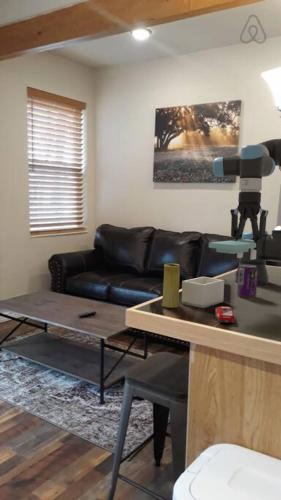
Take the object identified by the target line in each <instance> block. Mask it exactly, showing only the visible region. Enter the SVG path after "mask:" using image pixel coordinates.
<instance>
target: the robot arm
mask: <svg viewBox="0 0 281 500" xmlns="http://www.w3.org/2000/svg"><path fill="white" fill-rule="evenodd" d="M277 166H278V170H279V171H280V172H281V138H273V139H269V140H265V141H262V142H259V143H257V144H247V145H244V146H242V147H241V149H240V152H238V153H235V154H232V155H229V156H218V157H216V158H215V159H214V160H213V162H212V172H213V174H214V176H216V177H218V178H219V177H220V178H227V177H232V178H233V177H235V178H236V177H239V178H238V179H239V182H238V185H239V187H238V190H239V192H238V198H237V199H238V205H237V207H235V208H231V209H230V217H231V222H230V223H231V224H230V225H231V226H230V237H232V238H233V239H235V241H237V240H243V239H249V240H253V241H251V242H252V243H256V248H249V249H248V252H242V253H236V258H237V259H239V264H238V267H237V270H236V272H235V275H234V282H236V283H238V270H239V268H240V265H244V264H246V265H255V266H256V268H257V271H258V272H257V285H258V286H259V285H260V286H261V285H268V284H270V283H269V282H270V277H269V273H268V270H267V262H269V261H271V262H279V263H281V185H280V186H279V187H280V188H279V196H278V207H277V216H276V226H275V227H274V228H272V230H271V234H269V232H268V231H267V230H266V228H267V218H268V214H269V210H268V209H263V208H262V206H261V202H262V193H261V191H262V184H263V177H264V178H265V177H266V178H267V177H269V176H271V175H272V174H273V173H274V172H275V170H276V167H277ZM258 215H259V218H258ZM248 219H249V221H250V226H251V231H248V232H244V230H245V226H246V224H247V223H246V222H247V221H248ZM258 219H259V220H258ZM258 221H259V224H258Z"/></svg>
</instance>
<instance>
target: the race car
mask: <svg viewBox="0 0 281 500" xmlns="http://www.w3.org/2000/svg"><path fill="white" fill-rule="evenodd" d="M233 310H234V308H232V307H230V306H218V307H215V310H214V311H215V313H214V314H215V317H216V321H217V323H221V324H223V323H225V324H228V323H229V324H235V323H236V321H235V320H236V317H235V314H234V312H233Z"/></svg>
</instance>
